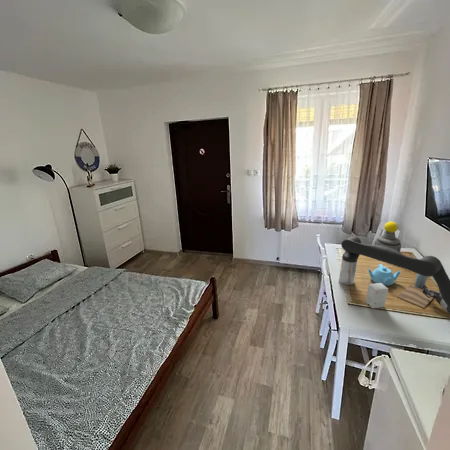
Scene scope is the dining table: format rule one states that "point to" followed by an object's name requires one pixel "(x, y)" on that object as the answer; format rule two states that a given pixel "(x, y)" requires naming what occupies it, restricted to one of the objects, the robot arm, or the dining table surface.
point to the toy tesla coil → (389, 237)
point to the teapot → (383, 275)
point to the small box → (376, 295)
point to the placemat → (415, 296)
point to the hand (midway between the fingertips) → (431, 287)
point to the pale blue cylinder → (420, 281)
